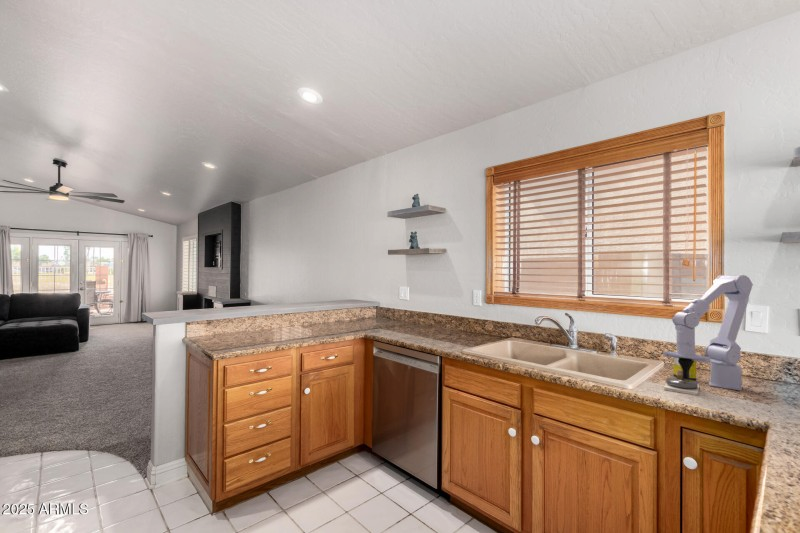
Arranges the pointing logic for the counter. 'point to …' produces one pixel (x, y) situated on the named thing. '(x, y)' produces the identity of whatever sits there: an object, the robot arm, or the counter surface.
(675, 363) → the supplement box
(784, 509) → the counter surface
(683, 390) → the base board
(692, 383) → the crank wheel
